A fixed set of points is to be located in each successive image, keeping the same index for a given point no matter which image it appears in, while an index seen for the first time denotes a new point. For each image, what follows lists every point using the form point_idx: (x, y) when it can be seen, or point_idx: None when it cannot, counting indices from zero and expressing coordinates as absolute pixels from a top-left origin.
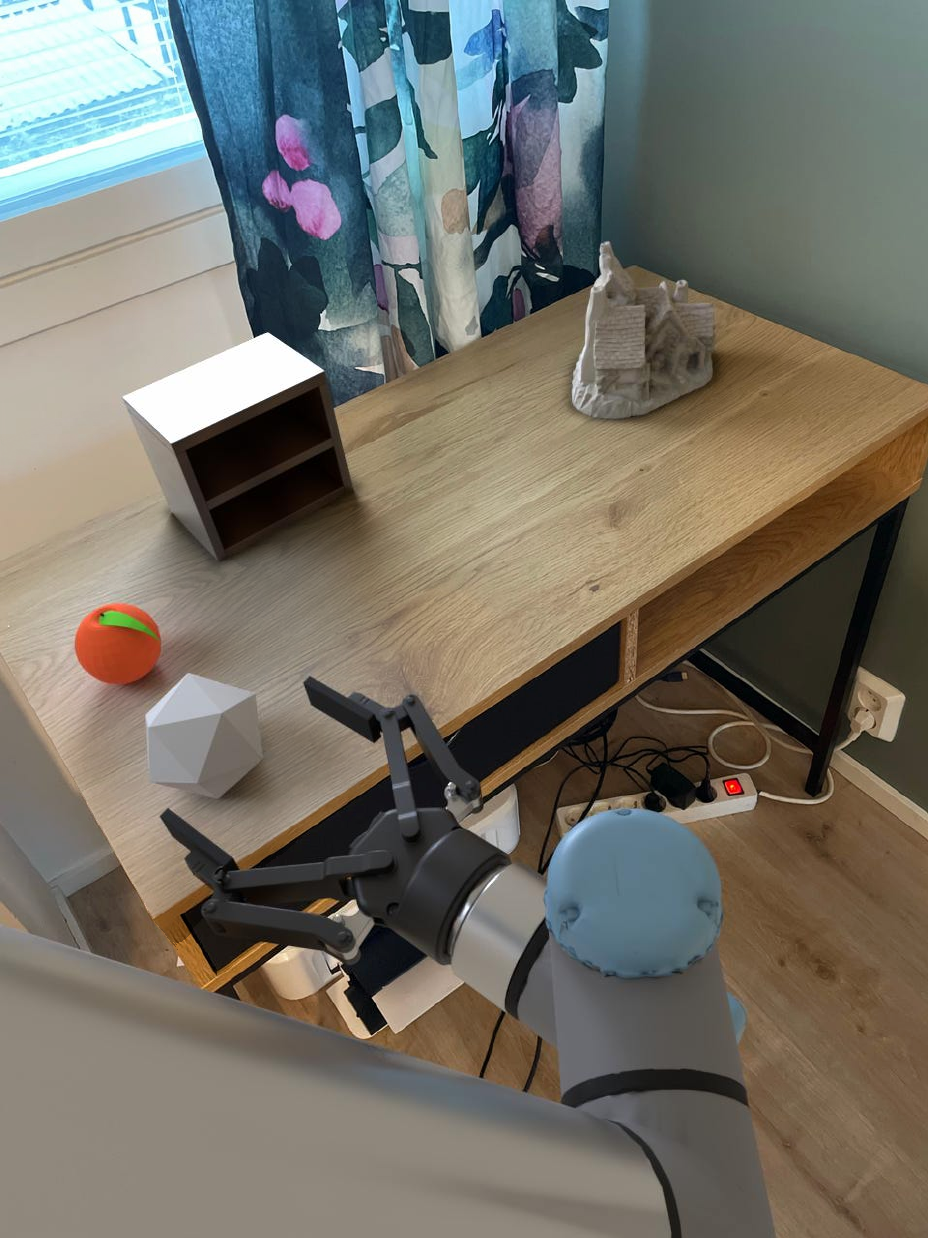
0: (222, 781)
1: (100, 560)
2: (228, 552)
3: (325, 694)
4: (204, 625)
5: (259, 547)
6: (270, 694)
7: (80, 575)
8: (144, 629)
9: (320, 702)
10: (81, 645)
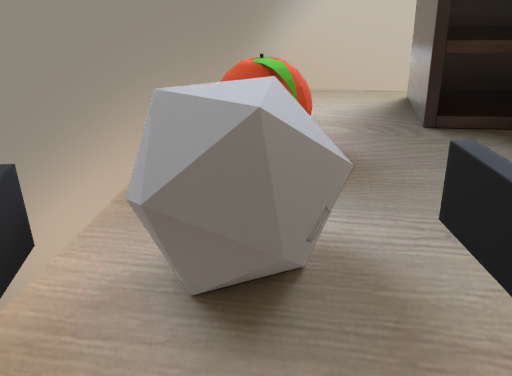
0: (196, 250)
1: (321, 100)
2: (439, 121)
3: (492, 166)
4: (364, 154)
5: (477, 132)
6: (384, 232)
7: None
8: (288, 80)
9: (465, 202)
10: (223, 77)
